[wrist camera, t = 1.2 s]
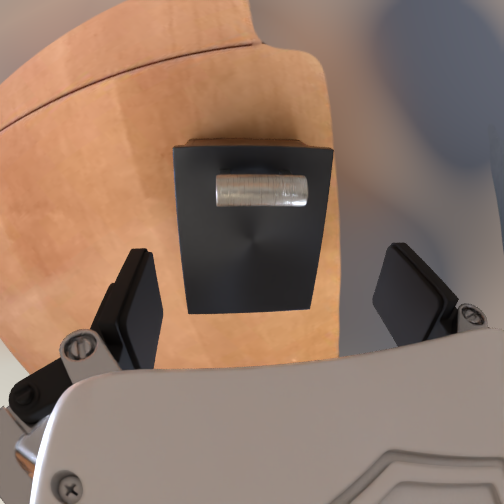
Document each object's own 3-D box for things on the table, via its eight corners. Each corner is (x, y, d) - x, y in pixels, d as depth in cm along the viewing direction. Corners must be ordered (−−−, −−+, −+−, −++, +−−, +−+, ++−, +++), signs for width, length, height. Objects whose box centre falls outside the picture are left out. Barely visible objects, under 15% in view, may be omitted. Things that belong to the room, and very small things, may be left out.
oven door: (174, 145, 18) (158, 161, 14) (330, 147, 19) (361, 164, 15) (188, 308, 25) (184, 352, 21) (307, 303, 26) (323, 344, 22)
